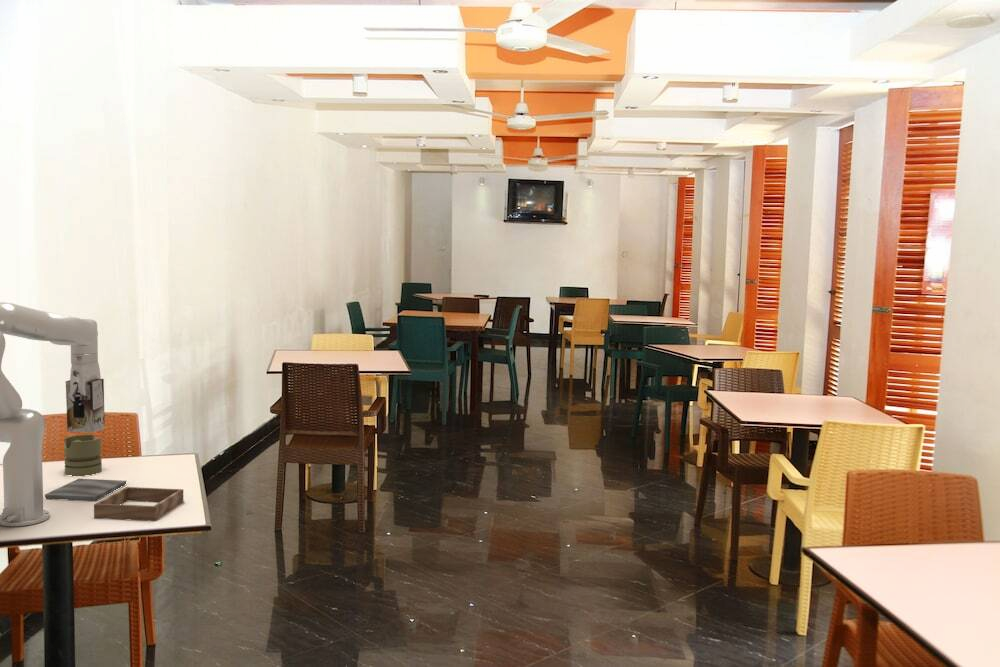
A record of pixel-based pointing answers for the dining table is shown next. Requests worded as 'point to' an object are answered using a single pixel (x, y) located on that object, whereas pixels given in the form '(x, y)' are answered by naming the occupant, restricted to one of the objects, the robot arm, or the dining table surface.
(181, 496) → the wooden frame
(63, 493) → the serving board
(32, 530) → the dining table surface
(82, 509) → the dining table surface
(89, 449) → the piston
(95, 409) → the coffee box
